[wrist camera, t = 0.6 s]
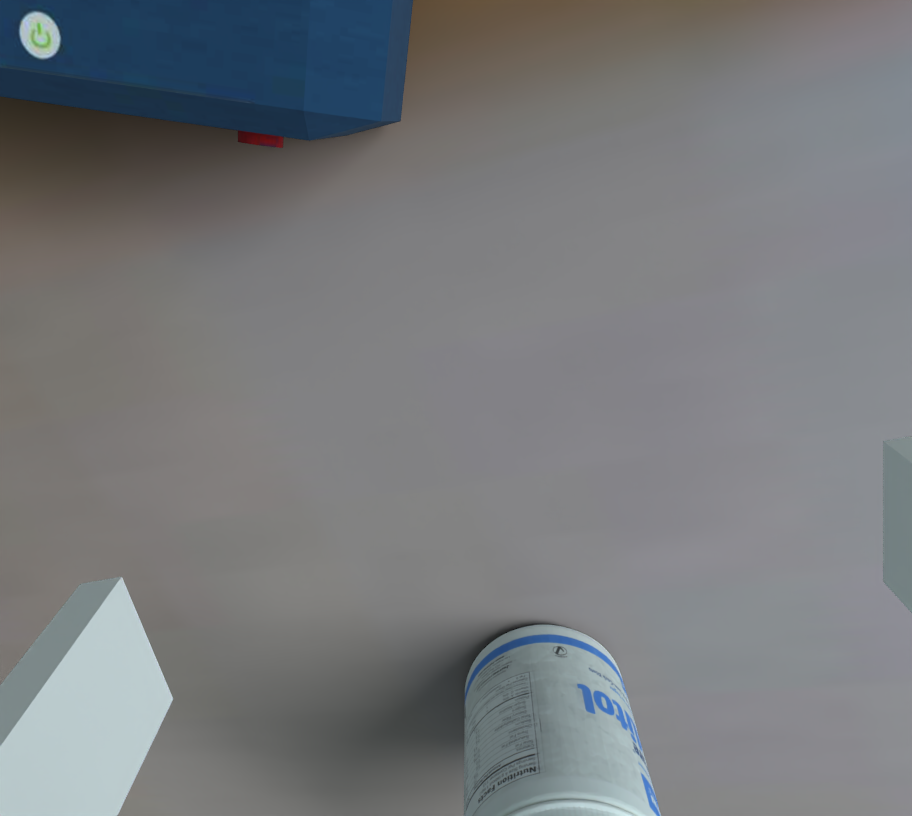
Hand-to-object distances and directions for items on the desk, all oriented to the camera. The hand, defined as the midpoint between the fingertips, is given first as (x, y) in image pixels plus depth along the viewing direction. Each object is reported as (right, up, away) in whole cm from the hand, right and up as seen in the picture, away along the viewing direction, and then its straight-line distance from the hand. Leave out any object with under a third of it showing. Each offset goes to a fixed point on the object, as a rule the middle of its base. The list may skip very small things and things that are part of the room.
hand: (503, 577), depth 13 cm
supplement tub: (+4, -14, +34) cm, 37 cm away
